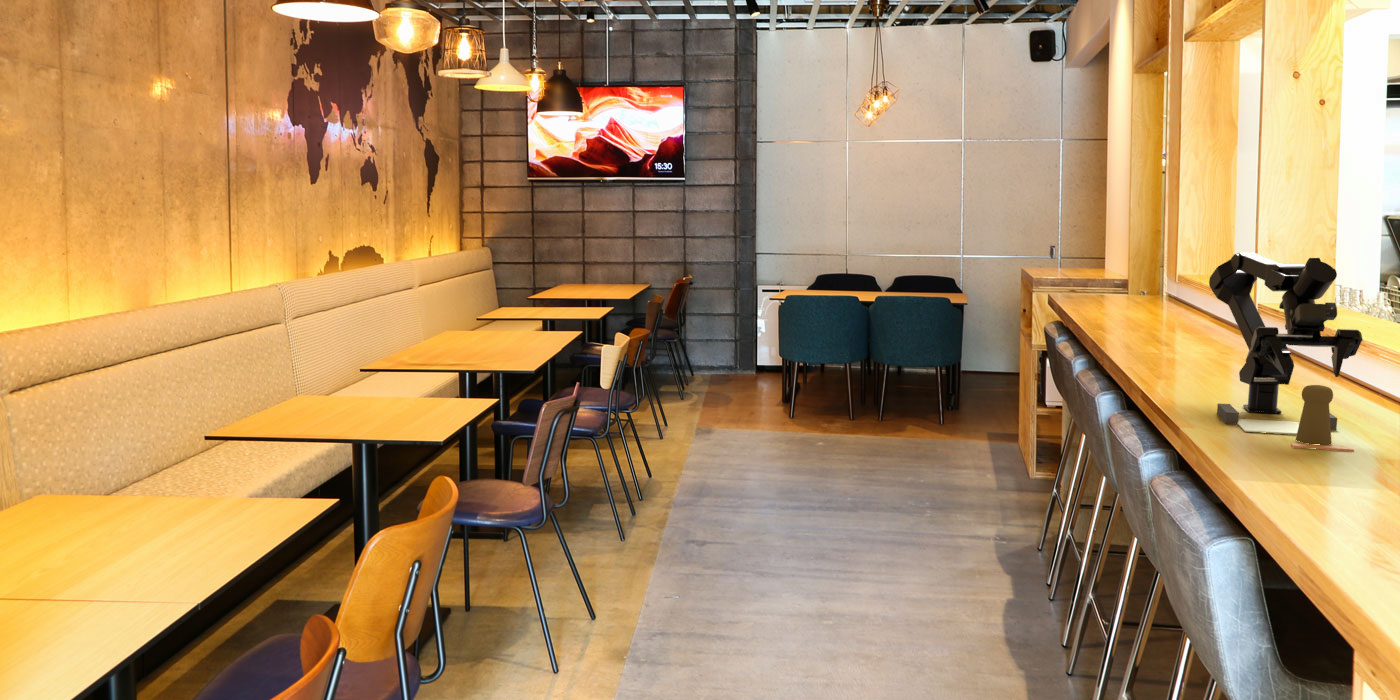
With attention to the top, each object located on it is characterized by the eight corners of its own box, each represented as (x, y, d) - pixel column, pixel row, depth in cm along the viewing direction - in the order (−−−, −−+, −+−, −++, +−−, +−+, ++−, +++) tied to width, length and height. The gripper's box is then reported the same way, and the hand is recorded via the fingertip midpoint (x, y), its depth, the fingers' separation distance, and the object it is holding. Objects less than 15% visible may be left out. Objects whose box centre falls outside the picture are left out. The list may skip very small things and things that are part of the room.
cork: (1322, 438, 201) (1326, 383, 199) (1337, 445, 195) (1342, 388, 193) (1289, 437, 201) (1294, 382, 200) (1304, 445, 195) (1309, 388, 194)
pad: (1233, 420, 217) (1233, 418, 217) (1297, 423, 214) (1297, 421, 214) (1244, 432, 206) (1245, 430, 206) (1312, 436, 202) (1312, 434, 202)
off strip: (1290, 445, 195) (1290, 443, 195) (1350, 449, 192) (1350, 447, 192) (1293, 448, 193) (1293, 445, 193) (1353, 451, 190) (1354, 449, 190)
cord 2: (1310, 419, 218) (1310, 407, 218) (1322, 419, 217) (1323, 408, 217) (1322, 428, 209) (1323, 417, 208) (1336, 429, 208) (1337, 418, 208)
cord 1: (1216, 414, 224) (1217, 403, 223) (1229, 414, 223) (1229, 404, 222) (1225, 423, 214) (1226, 412, 214) (1238, 424, 213) (1238, 413, 213)
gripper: (1258, 287, 207) (1266, 348, 198) (1363, 289, 202) (1377, 352, 193) (1247, 321, 216) (1255, 381, 207) (1348, 324, 210) (1360, 386, 201)
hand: (1310, 374), depth 202 cm, fingers open, 9 cm apart
